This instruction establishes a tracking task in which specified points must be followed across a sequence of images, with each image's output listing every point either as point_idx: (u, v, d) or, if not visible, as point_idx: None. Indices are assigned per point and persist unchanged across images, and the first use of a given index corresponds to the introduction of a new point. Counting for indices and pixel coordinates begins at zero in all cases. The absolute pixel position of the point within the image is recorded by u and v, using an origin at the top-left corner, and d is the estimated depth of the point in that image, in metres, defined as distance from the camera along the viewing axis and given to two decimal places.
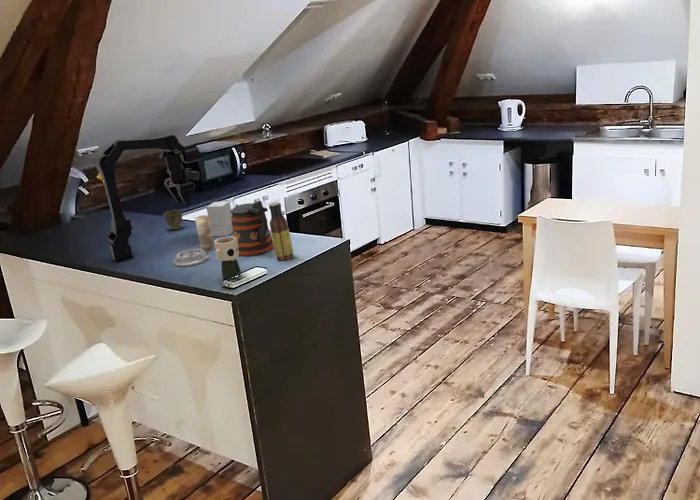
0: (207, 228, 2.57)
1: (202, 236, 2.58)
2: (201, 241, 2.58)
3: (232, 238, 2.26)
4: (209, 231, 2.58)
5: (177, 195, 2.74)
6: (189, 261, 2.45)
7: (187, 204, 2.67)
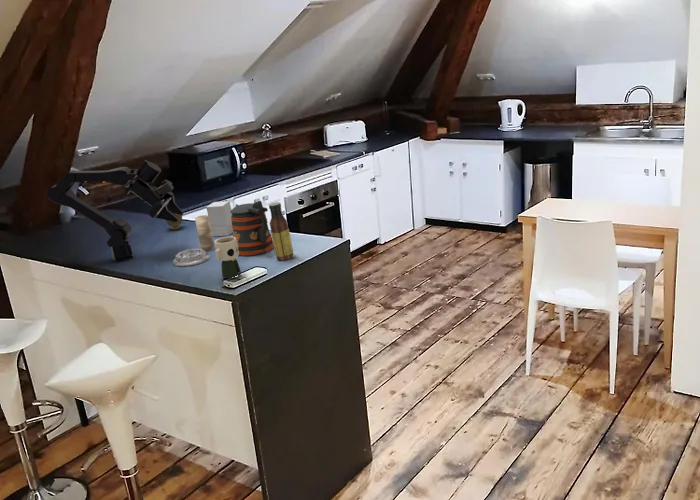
0: (207, 228, 2.57)
1: (202, 236, 2.58)
2: (201, 241, 2.58)
3: (232, 238, 2.26)
4: (209, 231, 2.58)
5: (174, 210, 2.62)
6: (189, 261, 2.45)
7: (174, 220, 2.53)
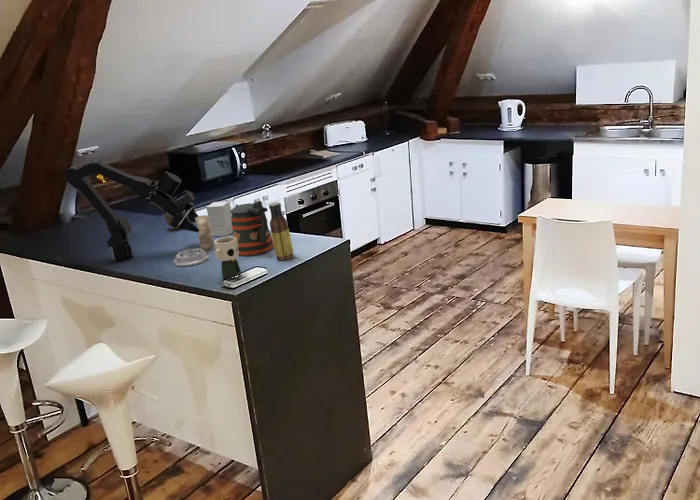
0: (207, 228, 2.57)
1: (202, 236, 2.58)
2: (201, 241, 2.58)
3: (232, 238, 2.26)
4: (209, 231, 2.58)
5: None
6: (189, 261, 2.45)
7: (195, 230, 2.54)
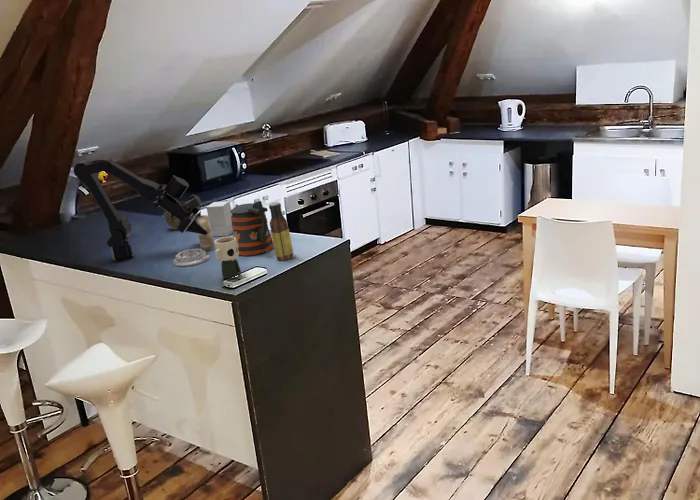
0: (207, 227, 2.57)
1: (202, 236, 2.58)
2: (201, 241, 2.58)
3: (232, 238, 2.26)
4: (209, 231, 2.58)
5: None
6: (189, 261, 2.45)
7: (203, 233, 2.56)
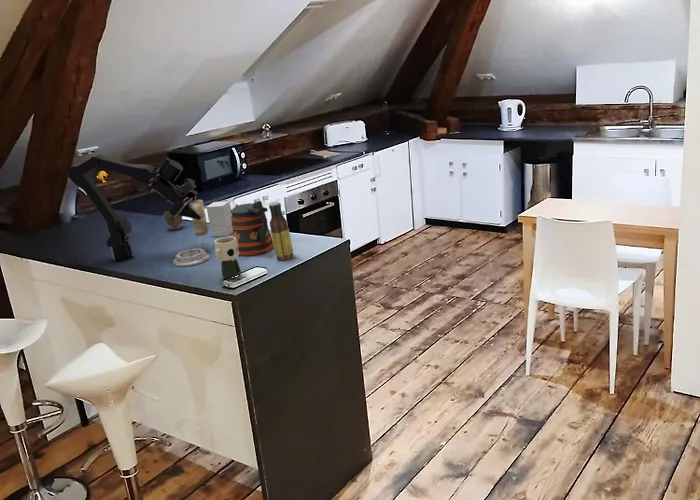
0: (201, 212, 2.52)
1: (195, 221, 2.53)
2: (195, 226, 2.54)
3: (232, 238, 2.26)
4: (203, 216, 2.53)
5: None
6: (189, 261, 2.45)
7: (197, 217, 2.52)
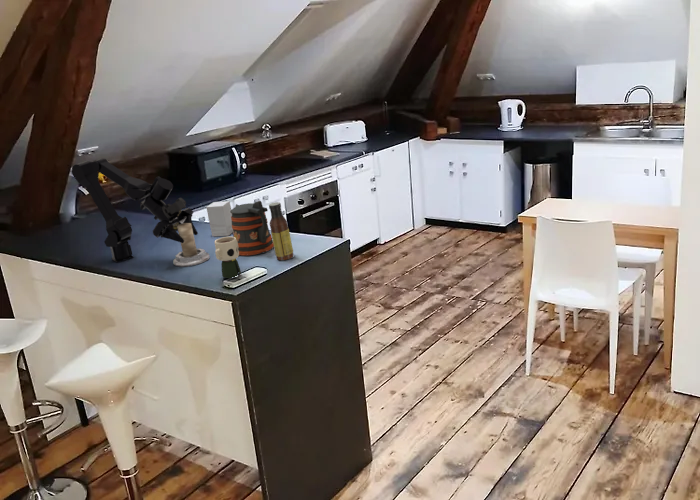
0: (187, 237, 2.45)
1: (182, 245, 2.46)
2: (182, 250, 2.47)
3: (232, 238, 2.26)
4: (190, 240, 2.46)
5: None
6: (189, 261, 2.45)
7: (180, 241, 2.43)
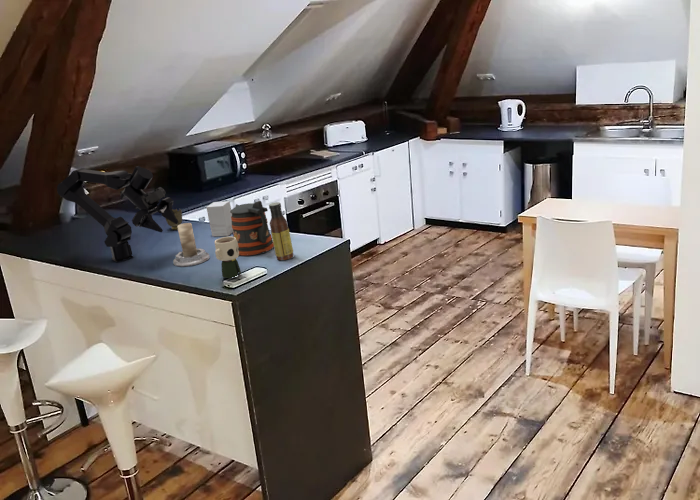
0: (187, 237, 2.45)
1: (182, 245, 2.46)
2: (182, 250, 2.47)
3: (232, 238, 2.26)
4: (190, 240, 2.46)
5: (170, 218, 2.53)
6: (189, 261, 2.45)
7: (158, 230, 2.45)
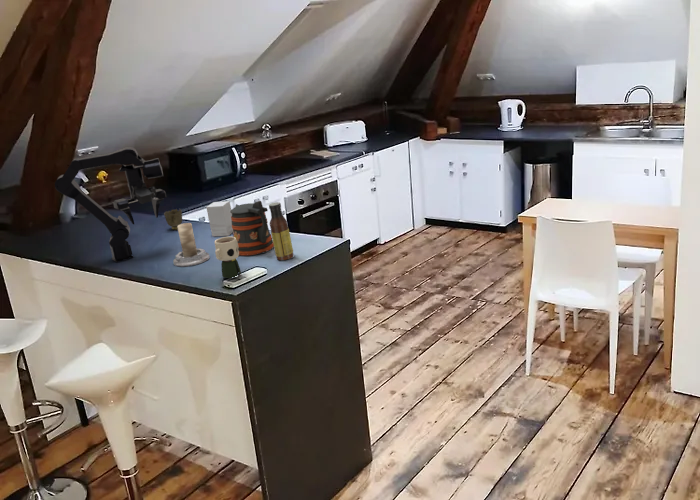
0: (187, 237, 2.45)
1: (182, 245, 2.46)
2: (182, 250, 2.47)
3: (232, 238, 2.26)
4: (190, 240, 2.46)
5: (154, 209, 2.62)
6: (189, 261, 2.45)
7: (131, 221, 2.58)
